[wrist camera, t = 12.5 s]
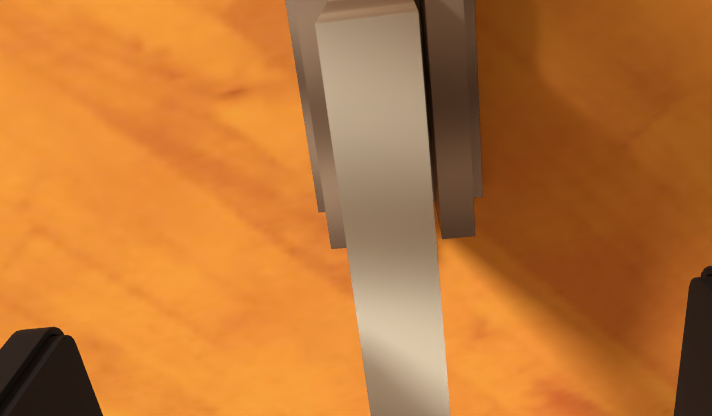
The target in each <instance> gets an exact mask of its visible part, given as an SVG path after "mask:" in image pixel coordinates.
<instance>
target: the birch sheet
mask: <svg viewBox="0 0 712 416" xmlns="http://www.w3.org/2000/svg"><path fill="white" fill-rule="evenodd" d="M315 29H316V36H317V43H318V50H319V57H320V64H321V71H322V78H323V85H324V92H325V99H326V106H327V113H328V120H329V127H330V134H331V141H332V148H333V155H334V162H335V169H336V176H337V183H338V190H339V196H340V203H341V210H342V217H343V224H344V231H345V238H346V245H347V252H348V259H349V266H350V273H351V280H352V287H353V294H354V301H355V308H356V315H357V322H358V329H359V336H360V343H361V350H362V357H363V364H364V371H365V378H366V385H367V392H368V399H369V406H370V413H371V416H450V406H449V393H448V380H447V368H446V355H445V342H444V330H443V317H442V305H441V292H440V279H439V267H438V254H437V241H436V229H435V216H434V204H433V191H432V178H431V166H430V153H429V140H428V128H427V115H426V103H425V90H424V77H423V65H422V52H421V39H420V27H419V14H418V9H417V7H416V5H415V2H414V0H329V1H328V2H327V4H326V6H325V7H324V9H323V11H322V12H321V14H320V16H319V18H318V19H317V21H316V23H315Z"/></svg>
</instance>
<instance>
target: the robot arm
mask: <svg viewBox="0 0 712 416" xmlns="http://www.w3.org/2000/svg"><path fill="white" fill-rule="evenodd" d="M0 416H103V414H102V412H101V409H100V406H99V404H98V401H97V398H96V396H95V393H94V390H93V388H92V385H91V382H90V380H89V377H88V374H87V372H86V369H85V366H84V364H83V361H82V358H81V356H80V353H79V351H78V348H77V345H76V343H75V341H74V339H73V338H72V337H71V336H69V335H64V334H63V332H62V331H61V330H60V329H59V328H56V327H47V328H36V329H26V330H19V331H16V332H15V333H14V334H13V335H12V336H11V337H10V338H9V339H8V341H7V342H6V343H5V344H4V345H3V347H2V348H1V349H0ZM674 416H712V266H708V267H706V268H704V270H703V272H702V273H701V277H696V278H693V279H692V280H691V282H690V286H689V293H688V301H687V309H686V318H685V326H684V335H683V343H682V351H681V360H680V368H679V376H678V385H677V393H676V402H675V410H674Z"/></svg>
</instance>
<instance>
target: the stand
mask: <svg viewBox="0 0 712 416" xmlns="http://www.w3.org/2000/svg"><path fill="white" fill-rule="evenodd" d="M285 1H286V7H287V14H288V20H289V26H290V33H291V39H292V46H293V52H294V58H295V65H296V71H297V77H298V84H299V90H300V97H301V103H302V109H303V116H304V122H305V128H306V135H307V141H308V148H309V154H310V160H311V167H312V173H313V179H314V186H315V192H316V199H317V205H318V211H319V212H326V217H327V224H328V230H329V237H330V244H331V249H338V248H347V245H346V238H345V231H344V224H343V217H342V210H341V203H340V196H339V190H338V183H337V176H336V169H335V162H334V155H333V148H332V141H331V134H330V127H329V120H328V113H327V106H326V99H325V92H324V85H323V78H322V71H321V64H320V57H319V50H318V43H317V36H316V29H315V23H316V21H317V19H318V18H319V16H320V14H321V12H322V11H323V9H324V7H325V6H326V4H327V2H328V1H329V0H285ZM414 2H415V5H416V7H417V9H418V14H419V27H420V39H421V52H422V65H423V77H424V90H425V103H426V115H427V128H428V140H429V153H430V166H431V178H432V191H433V202H434V201H435V204H436V209H437V214H438V219H439V225H440V230H441V235H442V239H448V238H459V237H470V236H475V221H474V200H473V198H476V197H483V188H482V164H481V141H480V118H479V94H478V71H477V47H476V24H475V0H414Z"/></svg>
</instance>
